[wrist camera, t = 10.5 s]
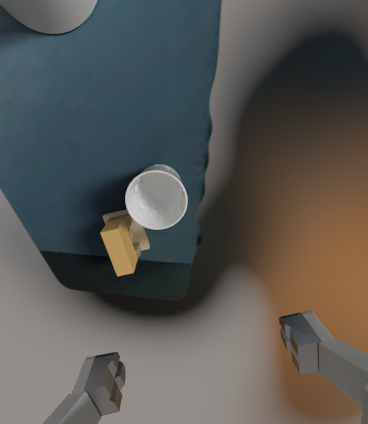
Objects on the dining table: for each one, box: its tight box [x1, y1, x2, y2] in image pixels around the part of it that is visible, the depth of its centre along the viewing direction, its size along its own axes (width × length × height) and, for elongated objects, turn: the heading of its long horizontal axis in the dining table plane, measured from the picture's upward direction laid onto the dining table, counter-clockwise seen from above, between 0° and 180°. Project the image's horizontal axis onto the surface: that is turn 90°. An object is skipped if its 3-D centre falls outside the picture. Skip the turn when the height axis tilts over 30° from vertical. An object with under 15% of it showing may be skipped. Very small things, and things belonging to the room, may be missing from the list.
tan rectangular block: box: [100, 218, 138, 276], centre depth 35 cm, size 8×3×4 cm, turn 13°
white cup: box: [125, 164, 187, 230], centre depth 33 cm, size 8×8×10 cm
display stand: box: [102, 209, 150, 257], centre depth 39 cm, size 8×6×4 cm
